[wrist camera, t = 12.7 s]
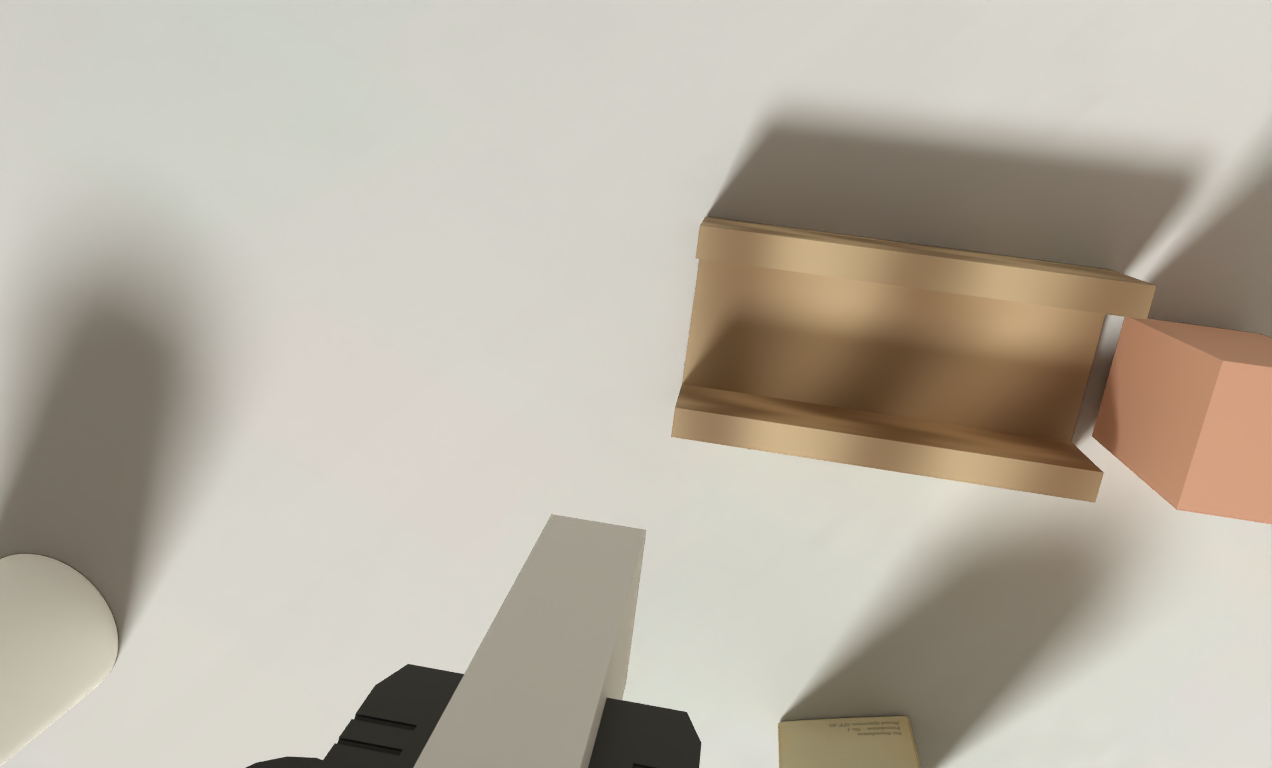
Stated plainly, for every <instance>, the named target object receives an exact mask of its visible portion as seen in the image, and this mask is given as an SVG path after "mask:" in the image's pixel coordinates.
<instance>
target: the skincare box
mask: <svg viewBox="0 0 1272 768" xmlns="http://www.w3.org/2000/svg"><path fill="white" fill-rule="evenodd" d="M778 741H779V768H921V766H920V761H919V757H918V753H917V749H916V745H915V740H914V736H913V732H912V728H911V724H910V719H909V718H908V717H907V716H891V717H861V718H838V719H817V720H798V721H783V722H780V723H779V724H778Z"/></svg>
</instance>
